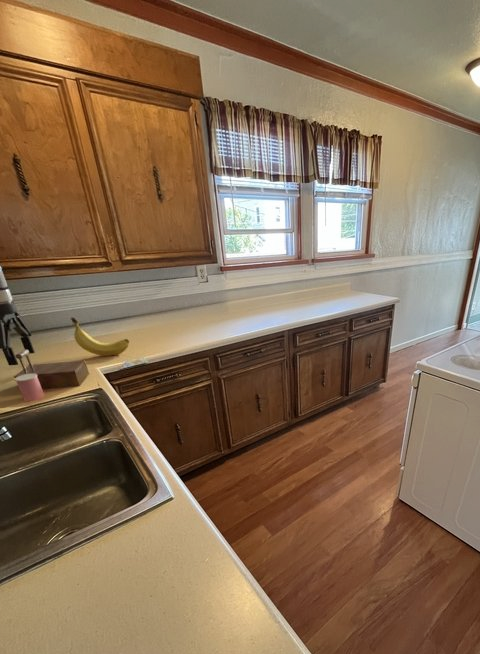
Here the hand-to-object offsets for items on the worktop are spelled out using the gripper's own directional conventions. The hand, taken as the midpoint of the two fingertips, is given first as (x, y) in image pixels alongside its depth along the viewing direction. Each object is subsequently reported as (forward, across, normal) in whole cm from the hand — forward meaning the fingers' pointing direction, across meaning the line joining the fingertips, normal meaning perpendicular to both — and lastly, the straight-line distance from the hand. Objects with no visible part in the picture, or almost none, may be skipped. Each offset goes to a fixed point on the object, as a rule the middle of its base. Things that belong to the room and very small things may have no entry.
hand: (22, 358), depth 125 cm
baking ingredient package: (+11, -17, +33) cm, 38 cm away
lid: (+5, 0, +8) cm, 10 cm away
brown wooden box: (+12, 0, +9) cm, 15 cm away
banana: (+12, -34, +19) cm, 41 cm away
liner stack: (+12, +14, +6) cm, 19 cm away
